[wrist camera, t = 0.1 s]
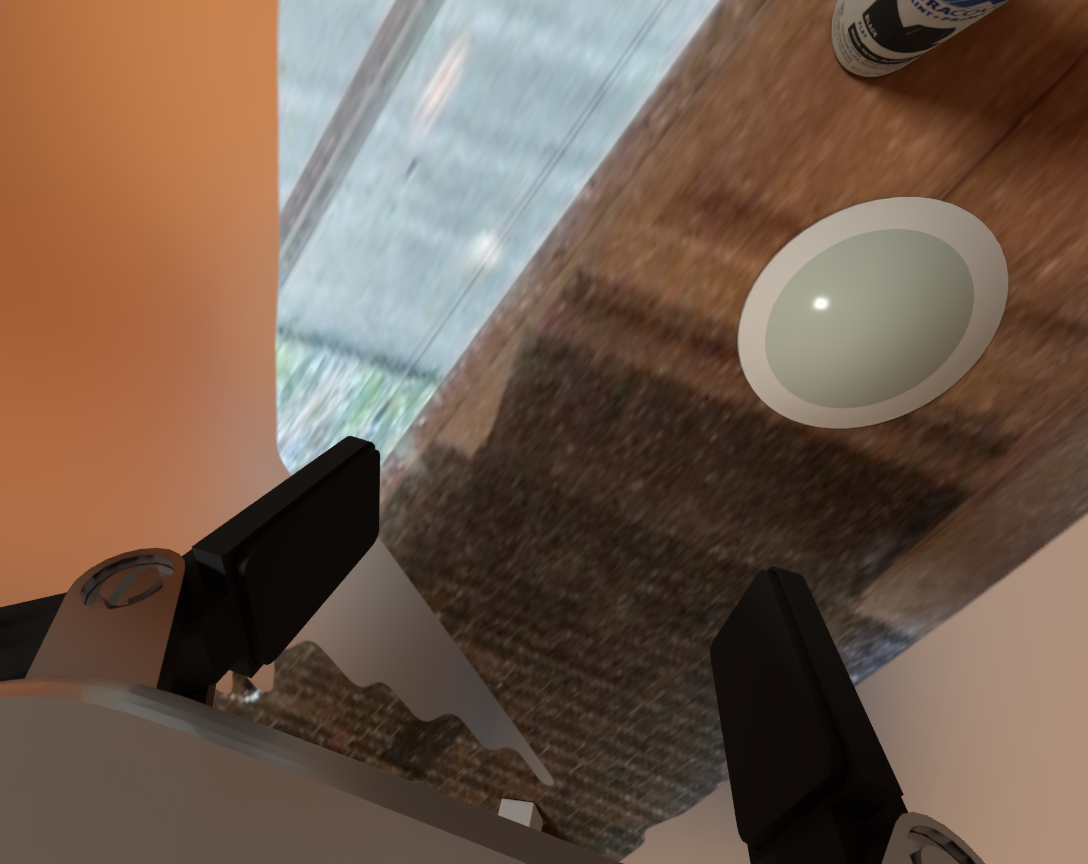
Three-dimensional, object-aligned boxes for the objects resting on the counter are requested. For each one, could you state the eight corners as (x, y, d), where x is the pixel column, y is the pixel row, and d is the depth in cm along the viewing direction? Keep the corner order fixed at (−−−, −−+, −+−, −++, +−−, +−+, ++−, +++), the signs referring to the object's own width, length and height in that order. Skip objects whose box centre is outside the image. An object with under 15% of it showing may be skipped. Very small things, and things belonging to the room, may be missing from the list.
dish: (799, 172, 30) (805, 170, 29) (1061, 230, 28) (1078, 230, 27) (704, 392, 39) (705, 397, 38) (900, 446, 37) (908, 452, 36)
